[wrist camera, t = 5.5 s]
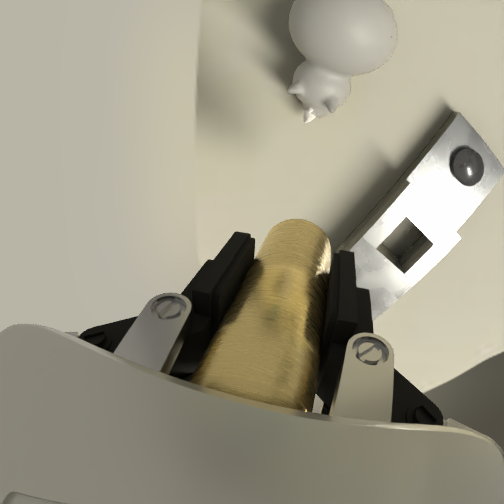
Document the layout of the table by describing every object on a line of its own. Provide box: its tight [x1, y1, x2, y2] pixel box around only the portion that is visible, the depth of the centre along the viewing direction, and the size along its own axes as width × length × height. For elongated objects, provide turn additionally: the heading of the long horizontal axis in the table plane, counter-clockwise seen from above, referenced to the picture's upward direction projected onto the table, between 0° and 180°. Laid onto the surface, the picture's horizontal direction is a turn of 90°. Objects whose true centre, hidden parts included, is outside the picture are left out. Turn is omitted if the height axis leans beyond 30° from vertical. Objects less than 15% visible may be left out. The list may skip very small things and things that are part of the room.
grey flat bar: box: [330, 112, 504, 321], centre depth 23 cm, size 24×7×3 cm, turn 147°
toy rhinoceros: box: [287, 0, 397, 123], centre depth 16 cm, size 7×12×8 cm, turn 157°
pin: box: [189, 219, 331, 412], centre depth 9 cm, size 3×3×10 cm
